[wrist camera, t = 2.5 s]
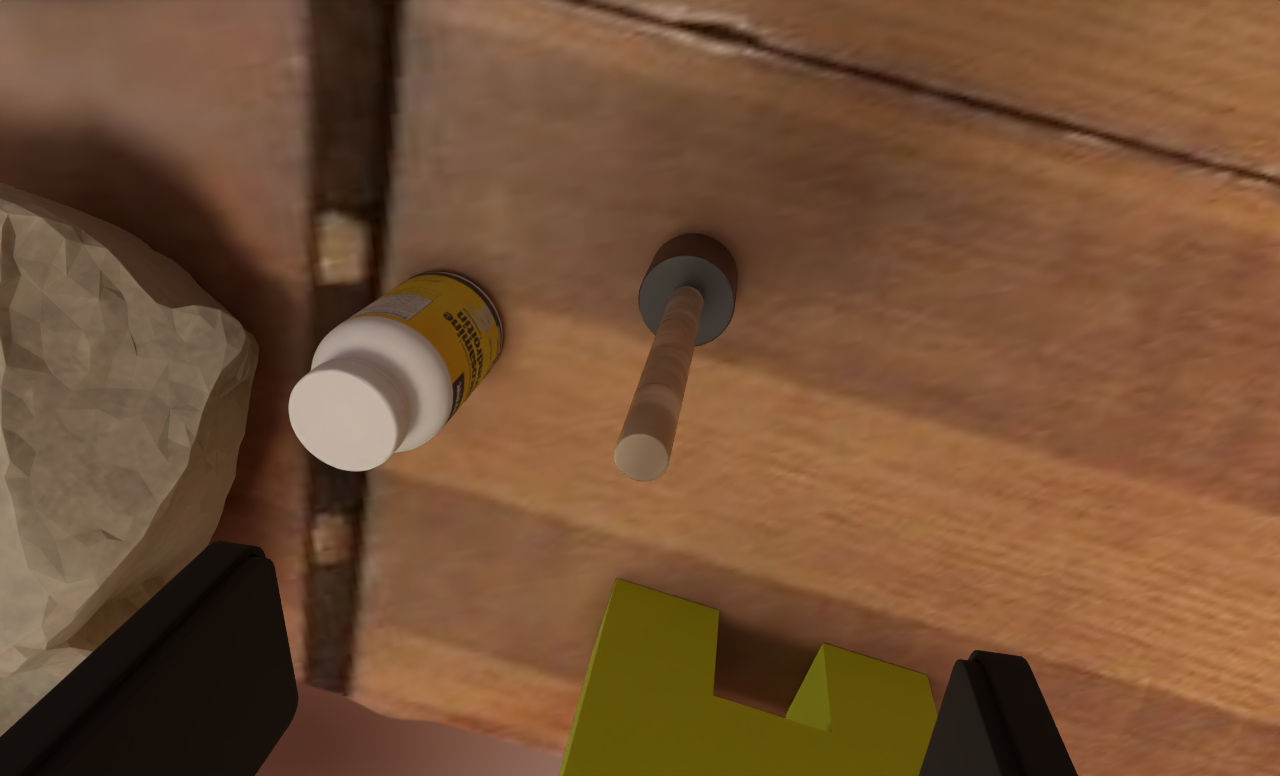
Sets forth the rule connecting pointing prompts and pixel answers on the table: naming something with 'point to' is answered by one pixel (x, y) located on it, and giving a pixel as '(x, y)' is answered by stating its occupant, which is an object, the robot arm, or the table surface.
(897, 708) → the decorative object
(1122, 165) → the table surface
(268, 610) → the robot arm
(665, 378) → the scrub brush
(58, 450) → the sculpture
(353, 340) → the pill bottle
